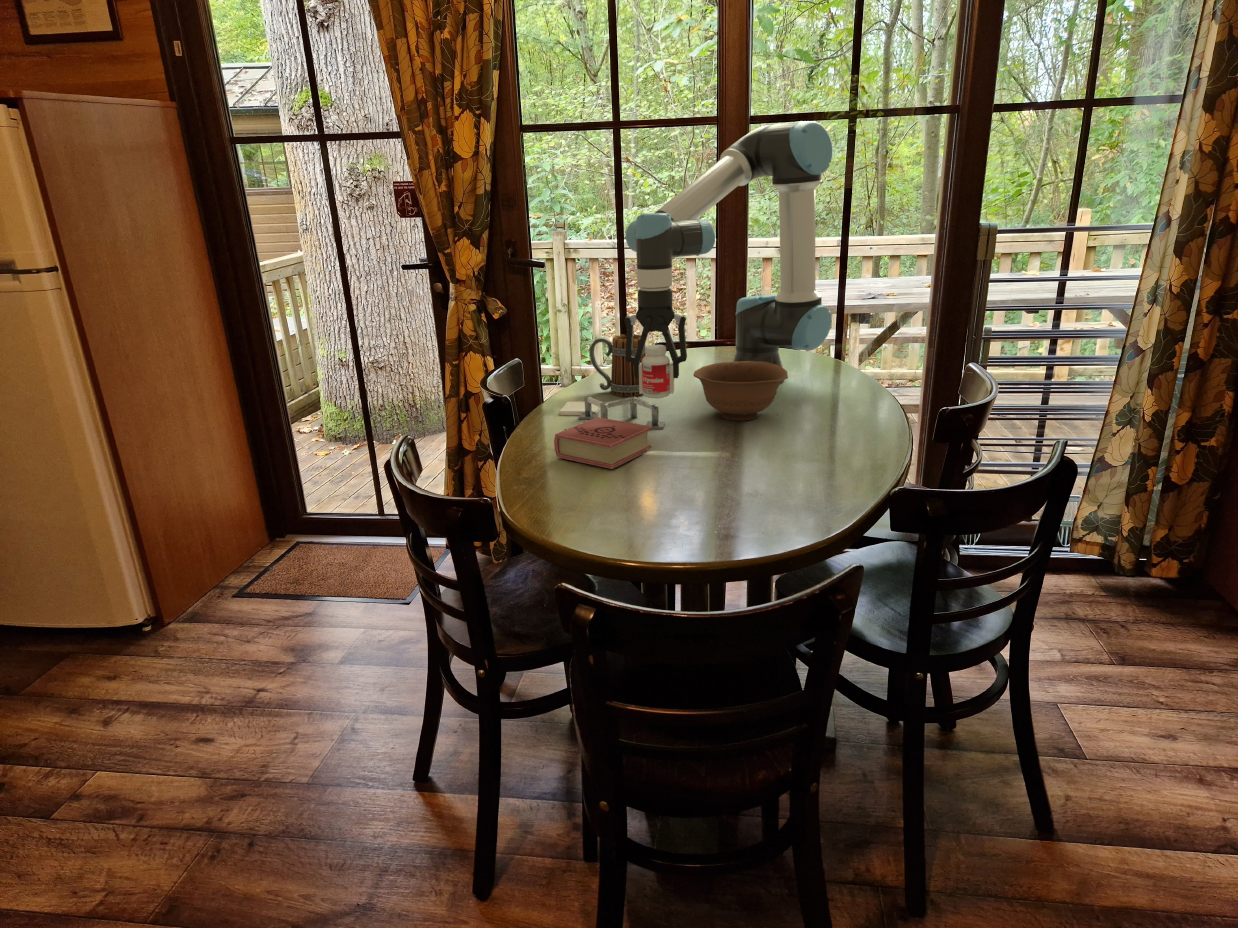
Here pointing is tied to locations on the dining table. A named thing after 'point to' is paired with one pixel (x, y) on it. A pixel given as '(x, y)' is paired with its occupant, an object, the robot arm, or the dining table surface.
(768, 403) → the bowl
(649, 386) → the pill bottle
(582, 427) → the book
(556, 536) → the dining table surface
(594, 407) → the pad
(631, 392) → the mug
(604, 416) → the jointed bar linkage
